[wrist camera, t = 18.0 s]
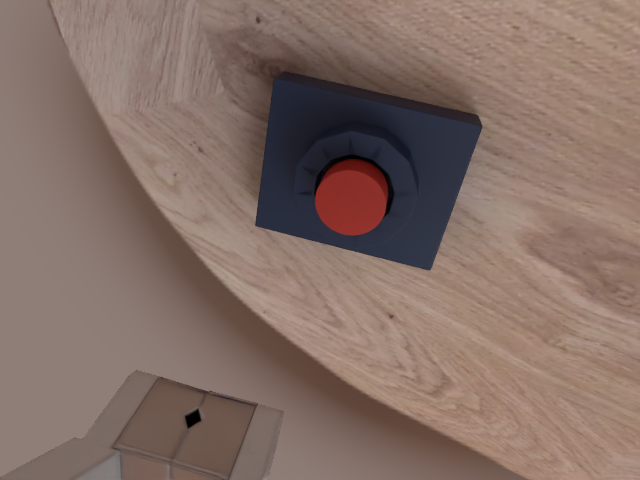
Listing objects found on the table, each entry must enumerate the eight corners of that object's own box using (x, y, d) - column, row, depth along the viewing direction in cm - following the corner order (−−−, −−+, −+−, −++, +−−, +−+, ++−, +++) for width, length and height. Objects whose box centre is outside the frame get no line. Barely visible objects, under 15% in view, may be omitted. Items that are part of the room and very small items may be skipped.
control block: (265, 211, 31) (245, 240, 28) (284, 70, 27) (263, 84, 23) (430, 253, 30) (430, 288, 27) (478, 115, 26) (487, 135, 22)
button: (316, 212, 26) (309, 226, 25) (328, 151, 25) (321, 162, 23) (379, 227, 26) (376, 243, 25) (395, 167, 24) (394, 179, 23)
